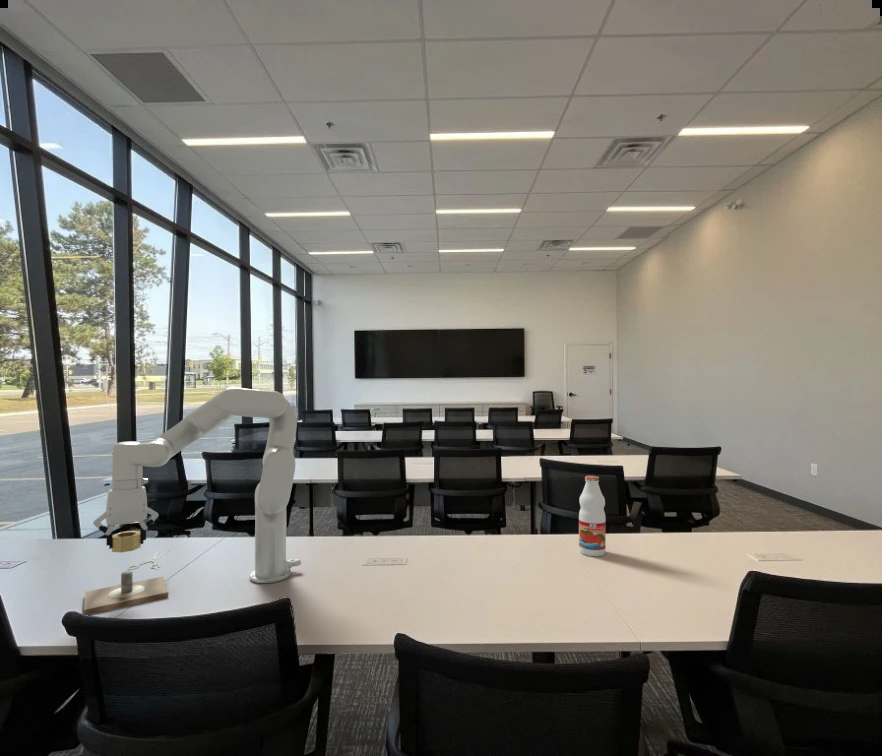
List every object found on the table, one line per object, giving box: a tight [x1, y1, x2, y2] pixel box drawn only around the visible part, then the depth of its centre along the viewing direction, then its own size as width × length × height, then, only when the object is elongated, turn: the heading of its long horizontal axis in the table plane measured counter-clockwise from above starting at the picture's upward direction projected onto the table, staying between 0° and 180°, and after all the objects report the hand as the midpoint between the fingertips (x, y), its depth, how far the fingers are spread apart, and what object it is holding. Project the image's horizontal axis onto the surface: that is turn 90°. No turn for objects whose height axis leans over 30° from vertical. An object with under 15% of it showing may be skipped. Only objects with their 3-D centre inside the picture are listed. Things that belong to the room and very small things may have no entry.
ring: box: [111, 530, 142, 553], centre depth 143 cm, size 7×7×4 cm
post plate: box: [83, 570, 169, 616], centre depth 143 cm, size 20×14×7 cm
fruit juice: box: [578, 475, 607, 557], centre depth 181 cm, size 9×9×28 cm
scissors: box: [126, 550, 170, 571], centre depth 173 cm, size 11×1×20 cm
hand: (126, 544), depth 143 cm, fingers closed on ring, 7 cm apart
